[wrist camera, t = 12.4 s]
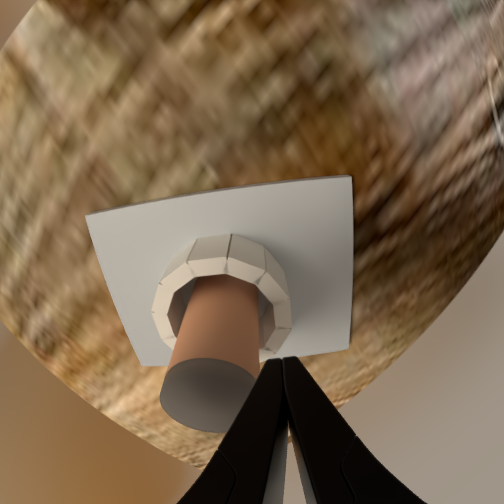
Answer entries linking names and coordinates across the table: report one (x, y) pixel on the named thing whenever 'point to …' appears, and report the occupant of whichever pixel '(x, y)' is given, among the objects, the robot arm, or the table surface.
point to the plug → (214, 354)
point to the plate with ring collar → (234, 262)
